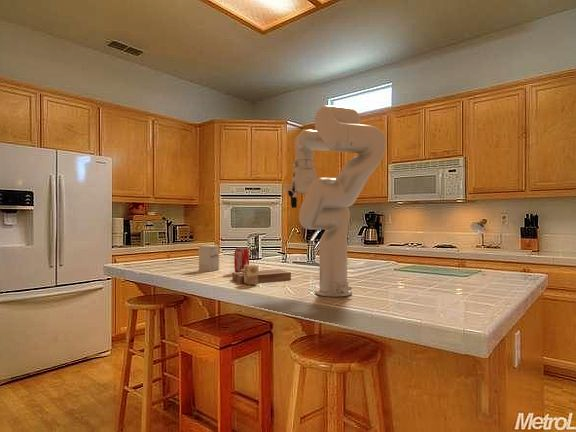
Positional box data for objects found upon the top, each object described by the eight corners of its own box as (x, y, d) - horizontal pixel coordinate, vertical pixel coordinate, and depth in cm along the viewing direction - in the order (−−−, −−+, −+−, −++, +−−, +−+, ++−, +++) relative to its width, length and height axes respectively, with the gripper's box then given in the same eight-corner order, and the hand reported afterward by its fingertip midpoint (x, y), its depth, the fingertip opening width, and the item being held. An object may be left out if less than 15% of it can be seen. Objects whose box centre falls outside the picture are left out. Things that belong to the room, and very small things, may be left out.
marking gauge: (259, 284, 144) (259, 266, 144) (249, 285, 142) (249, 266, 142) (247, 279, 156) (247, 262, 156) (238, 279, 154) (238, 263, 154)
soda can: (231, 273, 176) (231, 248, 176) (238, 271, 182) (238, 247, 182) (245, 274, 173) (245, 248, 174) (251, 272, 180) (251, 247, 180)
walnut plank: (290, 279, 157) (290, 272, 157) (241, 283, 147) (241, 276, 147) (279, 275, 168) (279, 269, 168) (232, 279, 158) (232, 272, 158)
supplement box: (210, 271, 182) (210, 246, 182) (198, 271, 185) (198, 245, 185) (219, 270, 189) (219, 245, 189) (207, 269, 192) (207, 244, 192)
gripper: (289, 163, 143) (289, 207, 143) (327, 165, 151) (327, 207, 150) (281, 165, 150) (281, 207, 150) (318, 168, 157) (318, 208, 157)
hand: (304, 207), depth 150 cm, fingers open, 9 cm apart
